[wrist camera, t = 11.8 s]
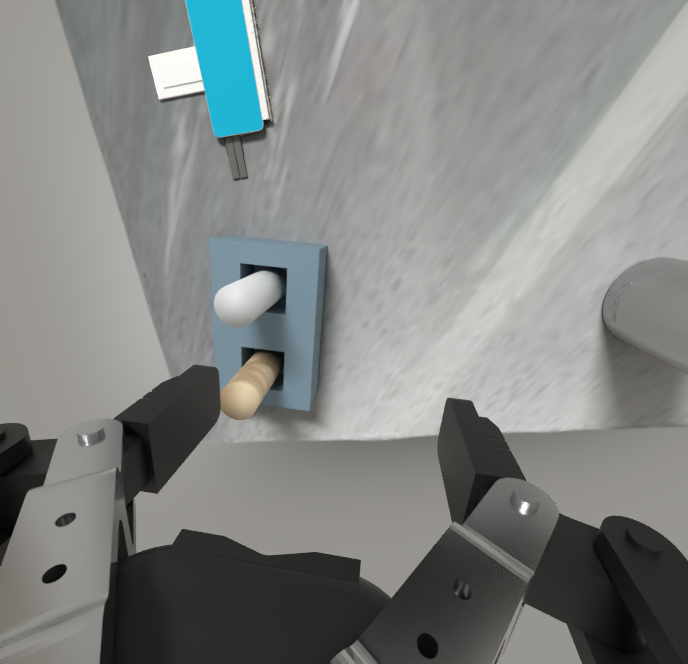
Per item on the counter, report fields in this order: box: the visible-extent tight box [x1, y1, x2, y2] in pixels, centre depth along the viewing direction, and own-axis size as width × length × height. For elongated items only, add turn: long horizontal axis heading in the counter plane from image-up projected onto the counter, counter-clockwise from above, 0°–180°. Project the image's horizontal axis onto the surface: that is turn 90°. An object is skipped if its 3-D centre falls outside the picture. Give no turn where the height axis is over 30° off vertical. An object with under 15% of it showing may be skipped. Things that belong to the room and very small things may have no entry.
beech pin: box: [220, 349, 285, 420], centre depth 36 cm, size 4×4×11 cm
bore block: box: [209, 236, 327, 411], centre depth 35 cm, size 11×18×12 cm, turn 175°
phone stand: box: [148, 0, 275, 179], centre depth 32 cm, size 20×12×2 cm, turn 7°
